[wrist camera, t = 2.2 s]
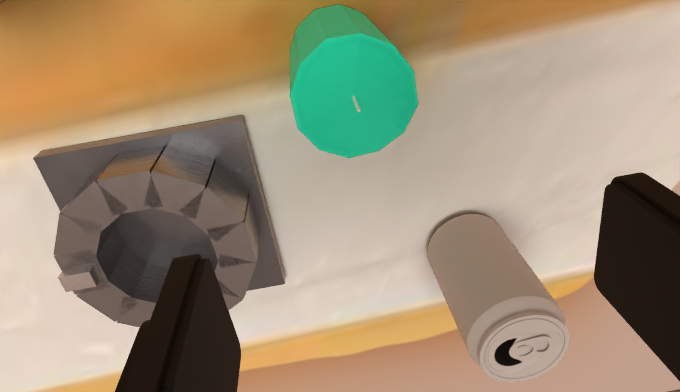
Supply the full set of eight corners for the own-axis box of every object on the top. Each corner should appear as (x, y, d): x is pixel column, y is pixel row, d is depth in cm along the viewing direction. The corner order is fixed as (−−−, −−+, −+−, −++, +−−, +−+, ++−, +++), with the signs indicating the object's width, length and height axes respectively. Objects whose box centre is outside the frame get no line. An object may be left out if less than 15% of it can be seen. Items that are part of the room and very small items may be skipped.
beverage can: (416, 224, 38) (463, 332, 28) (493, 198, 38) (571, 297, 27) (435, 282, 41) (484, 399, 31) (506, 258, 41) (581, 369, 30)
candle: (386, 7, 30) (436, 43, 20) (375, 99, 33) (415, 173, 23) (291, 0, 30) (291, 34, 19) (289, 95, 33) (288, 170, 22)
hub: (242, 114, 33) (233, 149, 27) (285, 274, 40) (284, 328, 34) (41, 150, 33) (-8, 193, 27) (118, 304, 40) (90, 363, 34)
